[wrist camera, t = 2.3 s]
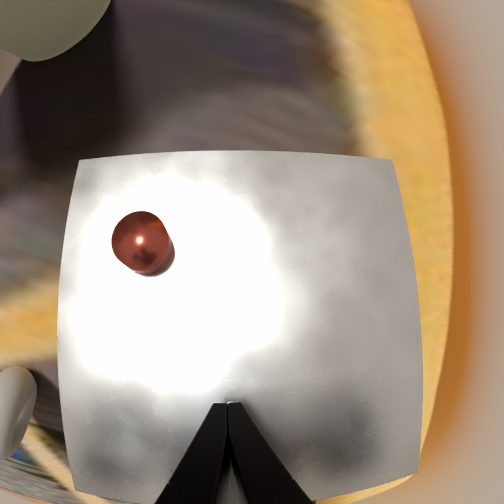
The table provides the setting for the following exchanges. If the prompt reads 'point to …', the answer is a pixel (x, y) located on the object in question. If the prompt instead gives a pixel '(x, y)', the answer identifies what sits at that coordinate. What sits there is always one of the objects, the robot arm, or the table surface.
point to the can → (46, 25)
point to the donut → (15, 407)
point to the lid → (238, 317)
